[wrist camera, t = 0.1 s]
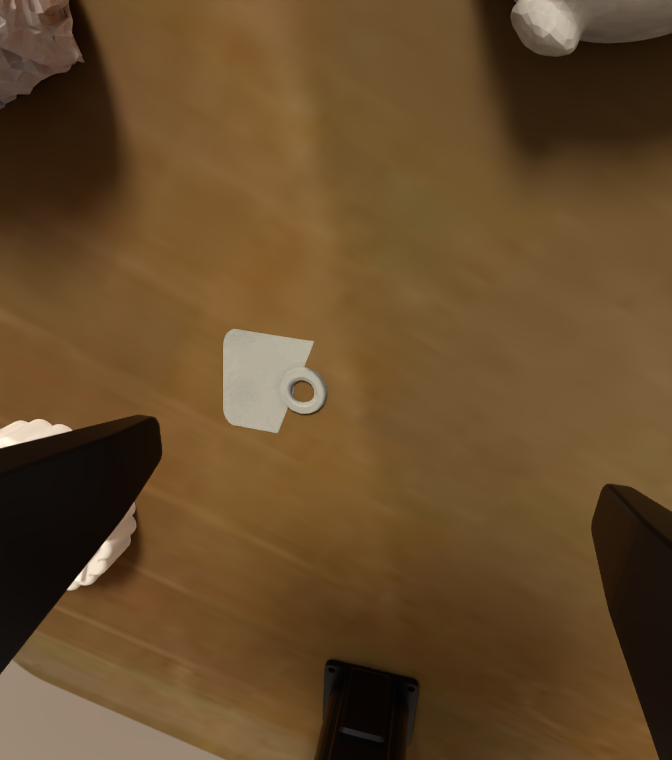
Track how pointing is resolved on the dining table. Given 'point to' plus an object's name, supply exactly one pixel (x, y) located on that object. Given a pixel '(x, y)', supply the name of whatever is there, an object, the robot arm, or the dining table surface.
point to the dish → (588, 22)
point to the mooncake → (118, 537)
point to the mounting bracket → (266, 379)
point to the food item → (34, 44)
